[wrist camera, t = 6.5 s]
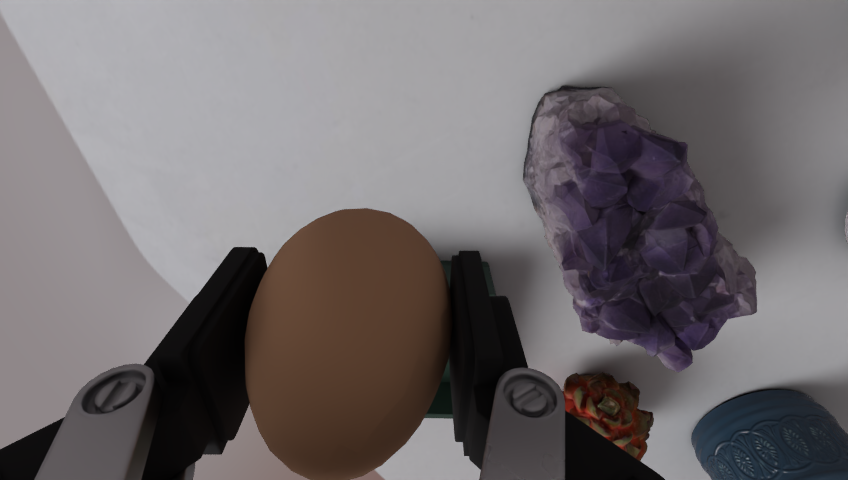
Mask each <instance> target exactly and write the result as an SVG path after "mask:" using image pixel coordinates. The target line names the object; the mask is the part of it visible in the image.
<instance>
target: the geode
mask: <svg viewBox="0 0 848 480" xmlns="http://www.w3.org/2000/svg"><path fill="white" fill-rule="evenodd" d="M687 146H688V145H687V144H686V143H685V142H678V141H676V140H674V139H672V138H669V137H666V136H662V135H658V134H656V132H655V131H651V130H650V126H649V122H648V120H647V119H645V118H642V117H640V116H638V115H636V114H635V109H633V108H631V107H629V106H627V105H626V104H625V102H624V101H623V100H622V99H621V98H620V96H619V95H618V94H616V93H615V91H614V90H613V89H612V88H610V87H592V88H579V87H569V86H562V87H561V88H560V89H559V90H558V91H554V92H550V93H545V94H544V96H543V97H542V99H541V100H540V101H539V103H538V105H537V108H536V110H535V113H534V115H533V118H532V123H531V130H530V135H529V139H528V149H527V154H526V158H525V162H524V174H523V181H524V183H525V185H526V187H527V189H528V191H529V193H530V195H531V198H532V202H533V205H534V209H535V211H536V212H537V214H538V215H539V217H540V218H541V219H542V222H543V225H544V228H545V232H546V235H545V236H544V237H545V238H546V239H547V240H548V245H549V246H550V247H551V248H552V249H553V250H554V257H555V258H556V260H557V261H558V262H559V265H560V266H559V267H560V269H561V271H562V273H563V279H564V284H565V287H566V288H567V290H568V292H569V293H570V294H571V295H573V296H574V298H573V308H574V309H575V311H576V313H577V314H578V315H579V317H580V322H581V326H582V330H583V331H585V332H589V333H596V334H598V335H600V336H602V337H605V338H607V339H610V344H613V343H614V344H615V345H616V346H618V345H619V344H620V343H621V342H622V341H623V340H627V341H629V342H632V343H634V344H637V345H640V346H642V347H644V348H645V349H646V351H647V354H648V355H650V356H655V355H658V357H659V358H660V359H661V361H662V362H663V365H664V366H666V367H667V368H669V369H672V370H674V371H677V372H680V371H682V370H684V369H685V368H687V367H688V366H689V365H691V364H692V363H693V362H692V357H693V356H692V352H691V349H692V350H693V351H695V350H699V349H702V348H704V347H705V346H706V345H708V344H709V343H710V342H711V341H713V340H714V339H715V337H716V335H717V334H718V332H719V330H720V329H721V327H722V326H723V325H724V323H725V322H726V321H727V319H730V318H735V317H740V316H746V315H752V314H754V313H756V312H757V297H756V280H755V274H756V271H755V269H754V267H753V266H752V265H751V263H750V262H749V261H748V260H747V258H744V257H740V256H738V254H737V253H736V251H735V250H734V249H733V246H732V244H731V243H730V242H729V241H728V240H727V239H725V238H724V237H723V236H722V235H720V234H719V233H718V232H717V231H718V226H717V223H716V220H715V218H714V215H713V212H712V211H711V210H710V209H709V208H708V207H707V206H706V204H705V199H704V190H703V188H702V187H701V185H700V183H699V182H698V181H697V179H696V178H695V176H694V174H693V172H692V170H691V168H690V166H689V164H688V163H687Z"/></svg>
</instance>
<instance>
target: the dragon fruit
mask: <svg viewBox="0 0 848 480" xmlns="http://www.w3.org/2000/svg"><path fill="white" fill-rule="evenodd" d="M562 393H563V395H564V400H565V410H566V411H567V412H569V413H570V414H572V415H573V416H575V417H576V418H578V419H579V420H580V421H582V422H583V423H585V424H586V425H588V426H589V427H591V428H592V429H594V430H595V431H596V432H598V433H599V434H601V435H602V436H604V437H605V438H607V439H608V440H610V441H611V442H613V443H614V444H615V445H617V446H618V447H620V448H621V449H623V450H624V451H626V452H627V453H629V454H630V455H632V456H633V457H634V458H636V459H637V460H639V461H640V460H641V459H642V457H643V455H644V454H645V453H646V451H647V443H646V440H647V439H648V438H649V436H650V435H649V433H648V432H649V431H650V427H652V425H653V421H654V418H653V413H652V412H648V411H644V410H639V409H638V408H637V407H638V403H639V395H640V391H639V389H638V388H637V387H636V386H635V385H634V384H633V383H631V382H627V383H617V382H616V380H615V379H614V378H613V376H612V375H609V374H607V373H600V374H597V375H595V376H593V375H588V376H580V375H578V374H577V373H575V374H572V375H570V376H569V377H567V379H566V381H565V384H564V392H562Z"/></svg>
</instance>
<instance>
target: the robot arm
mask: <svg viewBox="0 0 848 480" xmlns="http://www.w3.org/2000/svg"><path fill="white" fill-rule="evenodd" d="M266 270H267V264H266V260H265V256H264V254H263V253H260V252H258V250H257V248H255V247H234V248H233V249H232V250H231V251H230V252H229V254H228V255H227V256H226V258H225V259H224V260H223V262H222V263H221V264H220V266H219V267H218V268H217V270H216V271H215V272H214V274H213V275H212V276H211V278H210V279H209V280H208V282H207V283H206V284H205V286H204V287H203V288H202V290H201V291H200V292H199V294H198V295H197V296H195V297H194V299H193V300H192V301H191V303H190V304H189V306H188V307H187V308H186V310H185V311H184V312H183V313H182V315H181V316H180V317H179V319H178V320H177V321H176V323H175V324H174V326H173V327H172V328H171V329H170V331H169V332H168V333H167V335H166V336H165V337H164V339H163V340H162V341H161V343H160V344H159V346H158V347H157V348H156V349H155V351H154V352H153V353H152V355H151V356H150V357H149V359H148V360H147V361H146V363H145V364H144V365H141V364H129V365H123V366H119V367H116V368H112V369H110V370H108V371H106V372H104V373H102V374H100V375H98V376H97V377H95V378H94V379H92V380H91V381H89V382H88V383H87V384H86V385H85V386H84V387H83V388H82V389H81V390H80V391H79V392H78V394H77V395H76V397H75V398H74V400H73V402H72V404H71V406H70V408H69V410H68V412H67V414H66V416H65V417H64V418H62V419H60V420H58V421H57V422H54V423H52V424H50V425H48V426H46V427H45V428H42V429H40V430H38V431H36V432H34V433H32V434H30V435H28V436H26V437H24V438H22V439H20V440H18V441H16V442H14V443H12V444H10V445H8V446H6V447H4V448H2V449H0V480H193V477H194V470H195V462H196V461H197V460H199V459H200V458H201V457H202V455H203V454H222V453H223V450H224V448H225V446H226V443H227V441H228V440H233V439H234V438H235V436H236V434H237V432H238V430H239V427H240V425H241V422H242V420H243V418H244V415H245V413H246V411H247V408H248V406H249V398H248V394H247V389H246V378H245V333H246V328H247V322H248V316H249V311H250V308H251V305H252V302H253V299H254V297H255V294H256V292H257V289H258V287H259V284H260V282H261V280H262V278H263V276H264V274H265V272H266ZM450 295H451V307H452V319H453V327H452V336H451V344H450V353H449V370H450V383H451V396H452V409H453V422H454V434H455V441H456V442H463V448H464V456H469V458H470V460H471V461H472V462H473V463H474V464H475V465H476V466H477V467H478V468H479V469H481V473H480V479H479V480H665V479H664V478H663V477H661V476H660V475H659V474H658V473H656V472H655V471H653V470H652V469H651V468H649V467H648V466H646V465H645V464H643V463H642V462H640V461H639V460H637V459H636V458H634V457H633V456H632V455H630V454H629V453H627V452H626V451H624V450H623V449H621V448H620V447H618V446H617V445H615V444H614V443H613V442H611V441H610V440H608V439H607V438H605V437H604V436H602V435H601V434H599V433H598V432H596V431H595V430H594V429H592V428H591V427H589V426H588V425H586V424H585V423H583V422H582V421H580V420H579V419H578V418H576V417H575V416H573V415H572V414H570V413H569V412H567V411H566V410H565V400H564V395H563V393H562V391H561V389H560V387H559V386H558V385H557V384H556V383H555V381H554V380H553V379H552V378H550V377H549V376H547V375H546V374H544V373H542V372H540V371H537V370H534V369H530V368H528V365H527V362H526V358H525V355H524V351H523V348H522V345H521V341H520V338H519V334H518V331H517V327H516V324H515V320H514V317H513V314H512V310H511V307H510V303H509V300H508V298H507V297H506V296H489V292H488V288H487V283H486V279H485V274H484V270H483V266H482V261H481V257H480V253H479V251H459V256H457V255H452V262H451V276H450Z"/></svg>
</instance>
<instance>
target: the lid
mask: <svg viewBox="0 0 848 480" xmlns="http://www.w3.org/2000/svg"><path fill="white" fill-rule="evenodd" d="M845 237H846V239H847V242H848V212H847V215H846V220H845Z"/></svg>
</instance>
